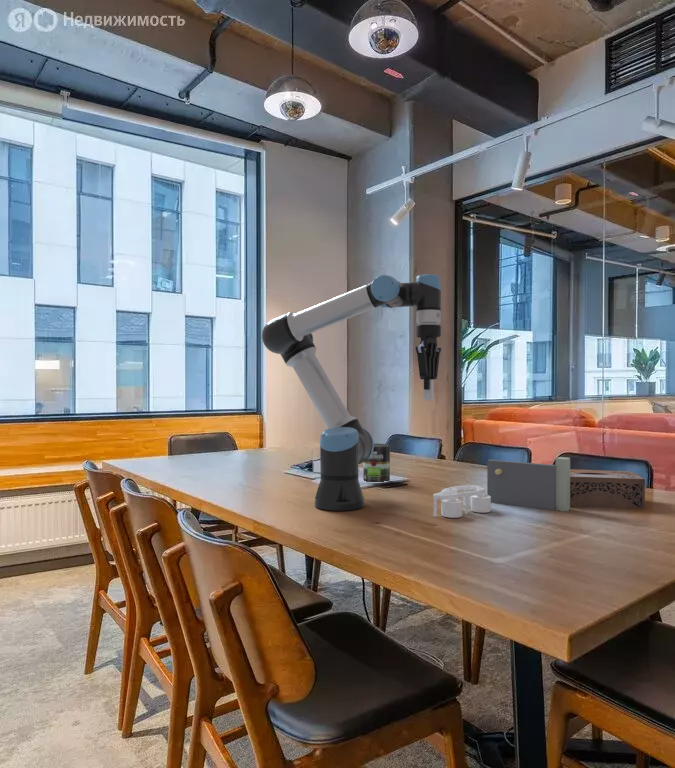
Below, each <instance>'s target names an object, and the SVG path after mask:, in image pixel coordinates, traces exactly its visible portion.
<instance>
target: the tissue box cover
mask: <svg viewBox="0 0 675 768" xmlns="http://www.w3.org/2000/svg"><path fill="white" fill-rule="evenodd" d="M645 485H646V479H645V478H643V477H642V476H640V475H638V473H635V472H633V471H629V470H603V469H602V470H601V469H599V470H597V469H596V470H595V469H573V468H572V469H571V468H570V507H589V506H591V508H592V507H593V508H614V509H615V508H616V509H617V508H618V509H639V510H641V509H642V510H645V509H646V486H645Z"/></svg>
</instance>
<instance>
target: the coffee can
mask: <svg viewBox="0 0 675 768" xmlns="http://www.w3.org/2000/svg"><path fill="white" fill-rule="evenodd" d="M362 464H363V465H362V466H363V468H362V470H363V471H362V473H363V475H362V479H363V480H364V481H366V482H384V481H389V480H390V481H391V478H390V477H391V445H390V444H387V443H374V449H373V452H372V454H371V456H370V457H369V458H368V459H367V460H366V461H365V462H363V463H362ZM363 480H362V481H363Z"/></svg>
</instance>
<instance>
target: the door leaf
mask: <svg viewBox="0 0 675 768" xmlns="http://www.w3.org/2000/svg"><path fill="white" fill-rule="evenodd" d="M486 463H487V465H486V466H487V469H486V470H487V475H486V478H487V481H486V482H487V483H486V487H487V488H486V489H487V491H486V493H487V494H486V495H489V496H491V504H492V503H493V504H501V505H502V504H503V505H509V506H518V507H524V508H532V509H540V510H549V511H557V510H560V511H559V512H564V511H567V512H568V511H570V510H571V506H570V469H571V457H565V456H559V457H557V458H555V464H549V463H548V464H546V463H536V462H523V461H511V460H499V459H488V460H487V461H486ZM569 509H570V510H569Z"/></svg>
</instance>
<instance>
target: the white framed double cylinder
mask: <svg viewBox="0 0 675 768" xmlns="http://www.w3.org/2000/svg"><path fill="white" fill-rule="evenodd" d="M467 490H469V491H467ZM471 490H472V491H471ZM485 490H486V489H485V487H484V488H483V487H480V486H479V485H473V484H472V485H471V484H470V485H458V486H457V485H456V486H451V487H447V488H443V489H441V491H440V492H435V493H433V494H432V495H433V496H432V499H433V517H435V518H436V517H437V514H438V512H437V511H438V510H437V508H438V507H437V506H438V502H437V501H438V500H440V512H441V516H442V517H445V518H450V519H451V518H452V519H454V518H457V519H458V518H462V517H463V507H464V514H465V515H466V514H467V515H468V514H469V497H470V511H471V512H475V513H484V514H485V513H490V512H491V510H492V502H491V496H489V495H487V494H485V493H486V491H485ZM459 491H463V492H459ZM459 498H463V500H462V499H459Z"/></svg>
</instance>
